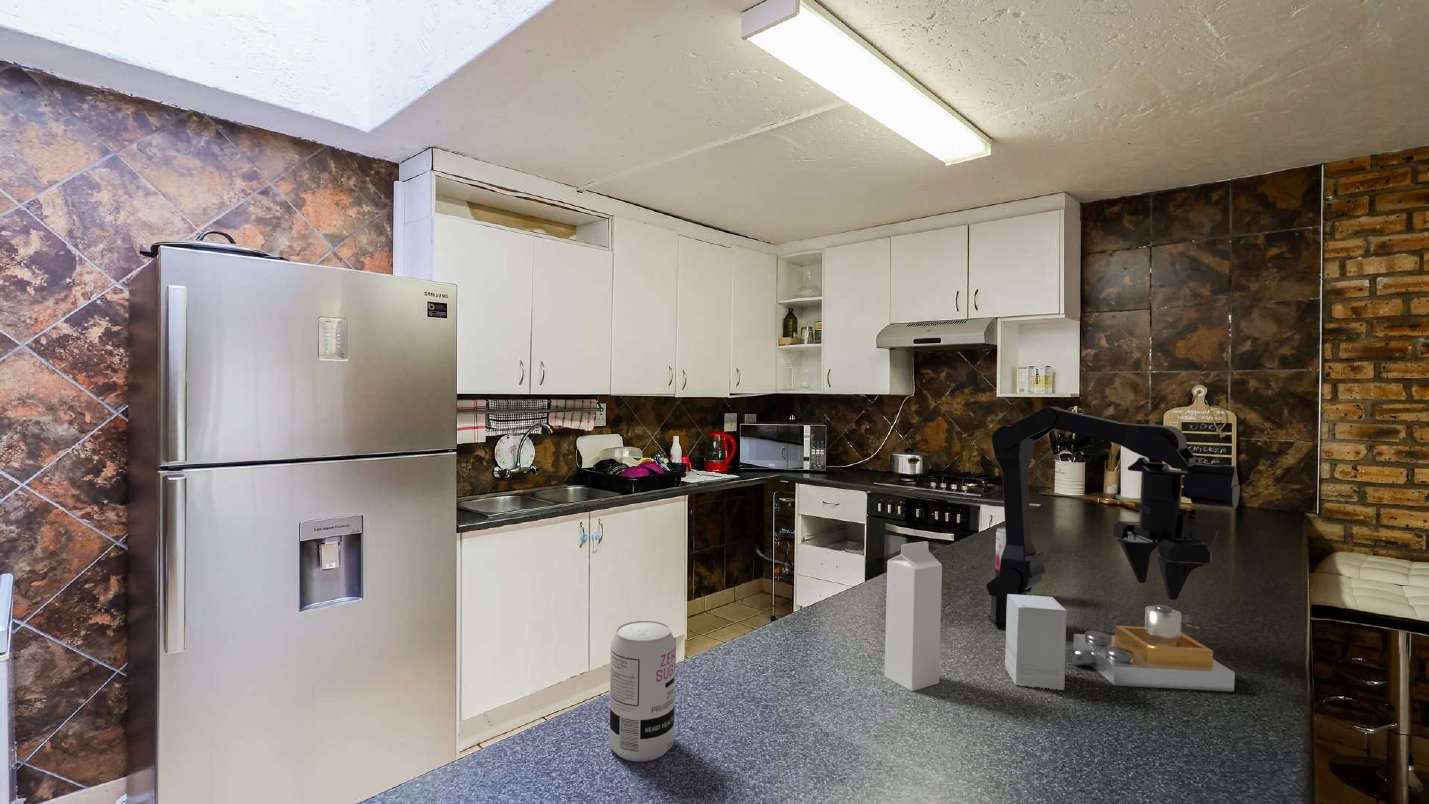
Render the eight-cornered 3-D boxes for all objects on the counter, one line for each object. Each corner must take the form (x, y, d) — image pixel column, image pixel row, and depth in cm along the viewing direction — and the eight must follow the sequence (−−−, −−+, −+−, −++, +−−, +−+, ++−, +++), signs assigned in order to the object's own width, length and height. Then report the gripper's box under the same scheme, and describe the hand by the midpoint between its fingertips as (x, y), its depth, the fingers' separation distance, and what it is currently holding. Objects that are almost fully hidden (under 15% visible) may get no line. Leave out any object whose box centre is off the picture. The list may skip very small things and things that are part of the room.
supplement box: (1065, 691, 103) (1068, 610, 102) (1014, 686, 104) (1016, 606, 104) (1051, 671, 110) (1053, 596, 110) (1003, 667, 111) (1006, 592, 111)
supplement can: (611, 730, 88) (613, 619, 88) (673, 729, 89) (675, 618, 89) (606, 765, 80) (608, 642, 80) (674, 763, 81) (676, 641, 81)
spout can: (1155, 657, 109) (1157, 611, 109) (1137, 645, 114) (1139, 601, 114) (1200, 659, 109) (1202, 613, 108) (1180, 648, 114) (1182, 603, 113)
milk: (939, 684, 105) (944, 545, 104) (911, 692, 102) (916, 549, 101) (910, 669, 110) (915, 537, 109) (883, 676, 107) (887, 540, 106)
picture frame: (1094, 684, 105) (1095, 650, 105) (1056, 649, 119) (1057, 619, 119) (1234, 691, 104) (1235, 656, 104) (1178, 655, 118) (1179, 624, 118)
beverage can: (991, 597, 149) (993, 530, 149) (997, 590, 155) (999, 526, 154) (1023, 603, 145) (1025, 535, 145) (1028, 595, 151) (1030, 530, 151)
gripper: (1250, 512, 103) (1245, 611, 103) (1177, 492, 121) (1173, 577, 122) (1174, 509, 104) (1170, 608, 104) (1113, 490, 122) (1109, 574, 123)
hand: (1156, 590), depth 113 cm, fingers open, 9 cm apart
